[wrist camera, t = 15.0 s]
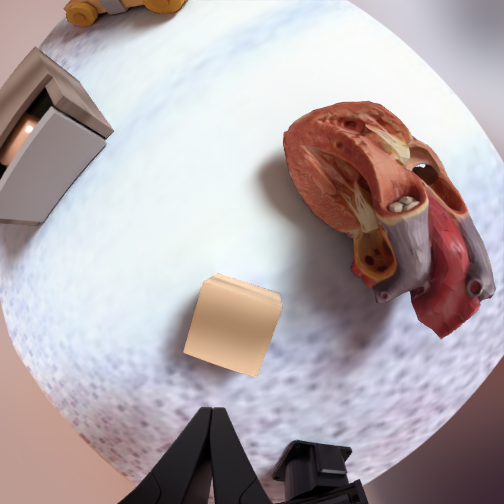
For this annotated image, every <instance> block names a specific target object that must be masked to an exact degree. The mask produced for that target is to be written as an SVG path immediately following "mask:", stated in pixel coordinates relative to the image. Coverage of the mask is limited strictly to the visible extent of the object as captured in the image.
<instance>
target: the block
mask: <svg viewBox="0 0 504 504" xmlns="http://www.w3.org/2000/svg"><path fill="white" fill-rule="evenodd" d="M281 311H282V302H281V297H280V293H277V292H274V291H271V290H268V289H265V288H262V287H259V286H255V285H252V284H249V283H246V282H243V281H240V280H237V279H234V278H231V277H228V276H225V275H222V274H219V273H218V274H216V275H214V276H212V277H211V278H209V279H207V280H205V281H203V284H202V287H201V291H200V294H199V298H198V301H197V305H196V308H195V312H194V315H193V319H192V322H191V326H190V329H189V333H188V337H187V340H186V344H185V348H184V352H183V353H186V354H188V355H191V356H193V357H196V358H199V359H201V360H204V361H207V362H210V363H213V364H215V365H218V366H221V367H224V368H227V369H230V370H233V371H236V372H239V373H243V374H246V375H249V376H252V377H256V378H257V375H258V373H259V370H260V367H261V365H262V362H263V360H264V357H265V354H266V352H267V349H268V346H269V344H270V341H271V338H272V336H273V333H274V330H275V327H276V325H277V322H278V319H279V316H280V313H281Z"/></svg>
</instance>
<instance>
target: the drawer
mask: <svg viewBox="0 0 504 504" xmlns="http://www.w3.org/2000/svg"><path fill="white" fill-rule="evenodd" d="M29 114H31V115H33V116H35V117H38V118H40V119H41V120H40V121H39V122H38V124H37V125H36V126H35V128H34V129H33V130H32V132H31V133H30V134H29V136H28V137H27V139H26V140H25V141H24V143H23V144H22V146H21V147H20V149H19V150H18V152H17V153H16V155H15V156H14V158H13V160H12V161H11V163H10V164H9V166H7V165H6V171H5V173H4V175H3V176H2V178H1V180H0V218H1V219H12V220H24V221H35V222H44V220H45V219H46V217H47V216H48V214H49V213H50V212H51V210H52V209H53V207H54V206H55V205H56V203H57V202H58V201H59V199H60V198H61V197H62V195H63V194H64V193H65V191H66V190H67V189H68V188H69V186H70V185H71V184H72V183H73V181H74V180H75V179H76V178H77V176H78V175H79V174H80V173H81V172H82V171H83V169H84V168H85V167H86V166H87V165H88V164H89V162H90V161H91V160H92V159H93V158H94V157H95V156H96V155H97V154H98V152H99V151H100V150H101V149H102V148H103V147H104V146H105V145H106V144H107V143H106V142H105V140H104V139H103V137H101V136H99V135H98V134H96V133H95V132H93V131H91V130H90V129H88V127H87V126H86V125H85V124H83V123H82V122H80V121H79V120H77V119H75V118H74V117H72V116H70V115H69V114H67V113H66V112H64V111H62V110H61V109H59V108H57V107H56V106H54V104H53V101H52V99H51V97H50V95H49V93H48V91H47V92H46V93H45V94H44V95H43V96H42V98H41V99H40V100H39V101H38V103H37V104H36V105H35V106H34V108H33V109H32V110H31V111H30V113H29Z"/></svg>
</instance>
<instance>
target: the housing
mask: <svg viewBox="0 0 504 504" xmlns="http://www.w3.org/2000/svg"><path fill="white" fill-rule="evenodd" d="M47 91H48V93H49V95H50V97H51V99H52V101H53V104H54V106H56V107H57V108H59V109H61V110H62V111H64V112H66V113H67V114H69V115H70V116H72V117H74V118H75V119H77V120H79V121H80V122H82V123H83V124H85V125H87V126H88V127H90V128H91V129H93V130H95V131H96V132H98V133H99V134H101V135H103V136H104V137H106V138H108V137H109V136H110V135H111V134H112V132H113V131H114V130H113V129H112V127H111V126H110V125H109V123H108V122H107V120H106V119H105V118H104V116H103V115H102V113H101V112H100V111H99V109H98V108H97V106H96V105H95V104H94V102H93V101H92V99H91V98H90V96H89V95H88V94H87V92H86V91H85V89H84V88H83V86H82V85H81V83H80V82H79V81H78V80H77V79H76V78H74V77H73V76H72V75H71V74H69V73H68V72H67V71H66V70H64V69H63V68H62V67H61V66H59V65H58V64H57V63H56V62H54V61H53V60H52V59H51V58H49V57H48V56H47V55H45V54H44V53H43V52H42V51H40V50H39V49H38V48H36V47H34V48H33V50H31V52H30V53H29V54H28V55H27V56H26V57H25V58H24V60H23V61H22V62H21V63H20V64H19V66H18V67H17V68H16V69H15V70H14V72H13V73H12V74H11V76H10V77H9V78H8V80H7V81H6V82H5V83H4V85H3V86H2V88H1V89H0V148H1V146H2V145H3V143H4V141H5V140H6V138H7V137H8V135H9V134H10V132H11V131H12V129H13V128H14V126H15V125H16V123H17V122H18V121H19V119H20V118H21V116H22V115H23V114H24V112H27V113H30V111H31V110H32V109H33V108H34V106H35V105H36V104H37V103H38V101H39V100H40V99H41V98H42V96H43V95H44V94H45V93H46V92H47ZM5 171H6V165H3V164H1V162H0V180H1V178H2V176H3V175H4V173H5ZM0 223H7V224H21V225H34V226H37V225H38V223H39V222H35V221H24V220H12V219H1V218H0Z"/></svg>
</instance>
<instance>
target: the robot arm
mask: <svg viewBox="0 0 504 504" xmlns="http://www.w3.org/2000/svg"><path fill="white" fill-rule="evenodd" d="M297 444H299V445H297ZM347 451H348V452H347ZM351 453H352V449H351V448H350V447H343V446H334V445H326V444H319V443H312V442H306V441H300V440H297V441H294V442H293V443H292V445H291V446H290V448H289V450H288V451H287V453H286V455H285V456H284V458H283V460H282V461H281V463H280V464H279V466H278V467H277V469H276V471H275V472H274V474H273V476H272V478H273V479H274V480H277V481H283V482H285V502H281V503H275V504H368V501H367V498H366V495H365V492H364V489H363V487H362V484H361V481H360V479H358V480H356V481H354V482H353V483H350V484H349V481H348V478H347V475H346V474H347V469H346V466H345V461H346V460H347V459H348V457H349V456H350V455H351ZM151 472H152V473H151ZM151 472H149V473H148V474H147V476H146V477H145V478H144V479H143V480H142V481H141V482H140V484H139V485H138V486H137V487H136V488H135V489H134V490H133V491H132V492H130V493H129V494H128V495H127V496H126V497H125V498H124V499H122V500H121V501H120V502H119V503H118V504H208V498H209V492H210V486H211V480H212V479H213V489H214V498H215V504H273V503H272V502H271V500H270V499H269V497H268V496H267V494H266V492H265V491H264V489H263V487H262V485H261V483H260V481H259V480H258V478H257V476H256V474H255V472H254V470H253V468H252V466H251V464H250V462H249V460H248V458H247V456H246V453H245V451H244V449H243V447H242V445H241V443H240V441H239V438H238V436H237V434H236V432H235V430H234V427H233V425H232V423H231V421H230V418H229V416H228V414H227V411H226V409H225V408H223V407H214V408H212V407H201V408H200V409H199V410H198V411H197V413H196V414H195V415H194V417H193V418H192V419H191V421H190V422H189V423H188V425H187V426H186V427H185V429H184V430H183V431H182V432H181V434H180V435H179V436H178V438H177V439H176V440H175V441H174V443H173V444H172V445H171V446H170V448H169V449H168V450H167V451H166V453H165V454H164V455H163V456H162V458H161V459H160V460H159V461H158V462H157V464H156V465H155V466H154V467H153V469H152V470H151Z"/></svg>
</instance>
